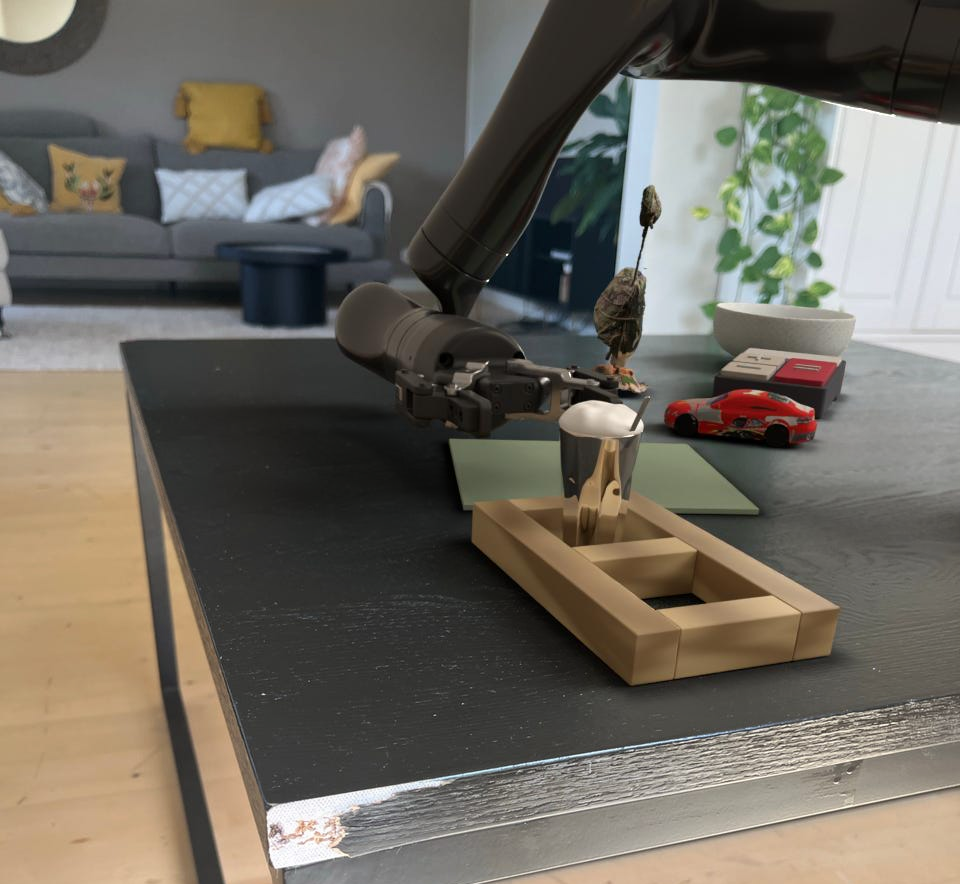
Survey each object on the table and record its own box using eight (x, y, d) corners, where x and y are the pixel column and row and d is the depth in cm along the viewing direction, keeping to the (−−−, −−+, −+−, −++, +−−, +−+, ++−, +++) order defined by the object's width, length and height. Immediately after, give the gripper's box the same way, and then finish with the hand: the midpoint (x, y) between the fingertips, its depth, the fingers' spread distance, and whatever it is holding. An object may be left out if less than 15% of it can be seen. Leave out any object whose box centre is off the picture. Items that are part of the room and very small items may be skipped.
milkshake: (599, 587, 53) (617, 401, 49) (532, 558, 57) (544, 382, 53) (655, 570, 56) (677, 392, 52) (588, 544, 60) (603, 375, 55)
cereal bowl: (857, 385, 114) (869, 321, 111) (711, 375, 116) (719, 312, 113) (832, 362, 129) (843, 305, 126) (704, 353, 131) (711, 298, 128)
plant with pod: (654, 382, 110) (676, 186, 102) (644, 401, 100) (669, 185, 92) (582, 376, 112) (598, 182, 104) (566, 394, 102) (582, 181, 94)
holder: (629, 527, 63) (633, 489, 62) (830, 655, 47) (840, 607, 46) (471, 542, 59) (472, 502, 58) (630, 686, 43) (636, 634, 42)
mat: (686, 448, 83) (687, 443, 83) (758, 514, 67) (759, 509, 66) (448, 443, 81) (448, 438, 81) (463, 510, 65) (463, 504, 65)
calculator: (714, 368, 98) (746, 342, 110) (709, 410, 100) (740, 381, 112) (828, 380, 94) (848, 353, 106) (820, 425, 96) (840, 393, 108)
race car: (656, 434, 88) (661, 388, 86) (668, 422, 92) (673, 378, 90) (810, 452, 83) (818, 404, 82) (815, 439, 88) (823, 393, 86)
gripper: (365, 319, 69) (442, 356, 55) (550, 317, 74) (662, 351, 60) (366, 426, 72) (439, 486, 58) (543, 417, 77) (648, 472, 63)
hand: (552, 418), depth 59 cm, fingers open, 8 cm apart
